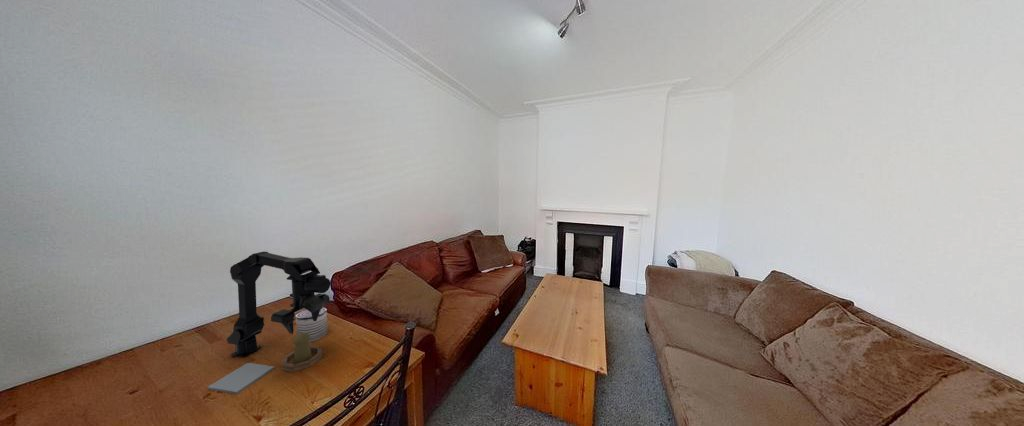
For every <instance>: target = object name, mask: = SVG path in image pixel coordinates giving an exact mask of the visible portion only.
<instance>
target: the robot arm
mask: <svg viewBox="0 0 1024 426" xmlns="http://www.w3.org/2000/svg"><path fill="white" fill-rule="evenodd" d="M263 267H270V268H275V269H280V270H282V271H283V272H284V273H285V274H287V275H288V277H286V280H287V281H288V280H289V281H291V291H292V292H291V293H290V294H289V297H290V298H292V303H290V304H289V305H290V308H291V309H280V310H279V311H277V312H274V313H273V314H272V315H271V317H270V322H272V323H280V324H281V325H282V326H283V327H284V328H285V329H286V330H287V332H288V333H289V334H291V335H293V334H294V331H295V330H294V329H295V328H294V322H295V321H296V316H295V314H296V313H298V312H301V311H304V310H308V311H309V312H311V314H312V318H313V321H316V320H317V318H318V315H319V312H320V310H321V309H322V308H323V307H324V306H326V305H327V304H328V303H329V302H330V296H329V295H328V294H326V293H327V292H328V291H329V289H330V288H331V284H332V282H331V280H330V279H329V278H327V276H326V275H325V274H322V275H321V272H320V270H319V268H318V267H317V266H316V265H315V263H314V261H313V260H312V259H311V258H309V257H303V256H302V257H288V256H283V255H279V254H275V253H270V252H268V251H260V252H255V253H251V254H250V255H249V256H248V257H246V258H245V259H242V260H240V261H239V262H237V263H235V264H233V265H232V266H230V269H229V272H230V276H231V280H232V281H234V282H235V283H236V284H237V294H238V296H237V297H238V298H237V299H238V315H239V316H238V318H237V320H236V321H235V323H234V324H233V330H232V333H231V334H229V336H228V337H226V342H227V343H228V344H229V345H230V344H231V345H234V349H235V352H233V353H231V354H230V356H232V357H238V358H246V357H248V356H249V355H251V354H252V353H254V352H256V351H258V350H259V349H261V348H262V346H260V345H258V343H257V342H258V341H257V335H259V334H262V331H263V328H264V326H265V323H264V322H265V318H264V316H260V315H259V314H258V313H257V287H256V286H257V285H256V283H257V282H256V281H257V280H258V279H259V277H260V276H261V274H262V269H263ZM316 293H317V294H316Z"/></svg>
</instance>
